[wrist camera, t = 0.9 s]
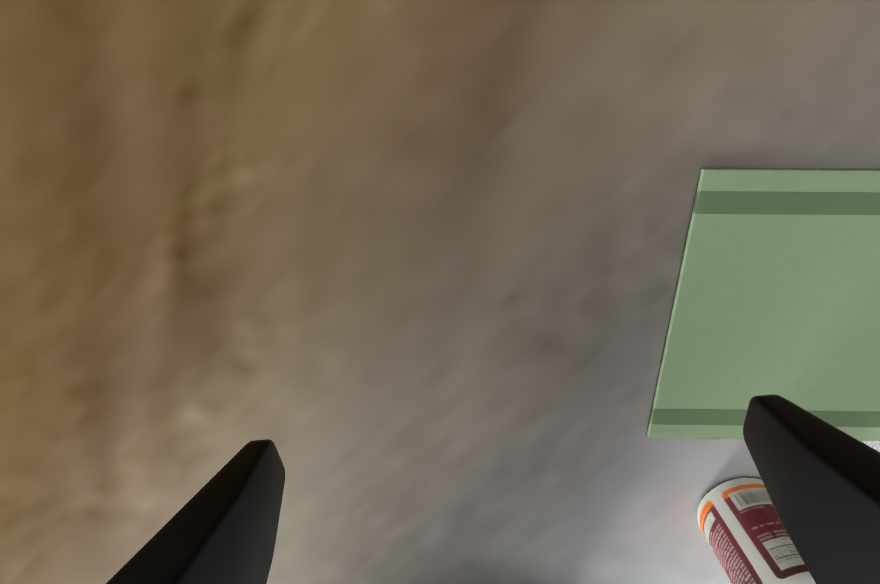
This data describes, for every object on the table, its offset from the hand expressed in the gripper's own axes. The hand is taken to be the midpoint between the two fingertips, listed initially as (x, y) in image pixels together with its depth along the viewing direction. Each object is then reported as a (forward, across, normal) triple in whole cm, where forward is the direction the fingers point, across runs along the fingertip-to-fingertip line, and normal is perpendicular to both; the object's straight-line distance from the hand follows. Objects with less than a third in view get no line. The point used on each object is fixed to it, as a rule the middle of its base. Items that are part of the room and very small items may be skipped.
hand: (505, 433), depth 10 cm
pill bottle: (+12, -13, +20) cm, 27 cm away
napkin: (+13, -19, +9) cm, 25 cm away
